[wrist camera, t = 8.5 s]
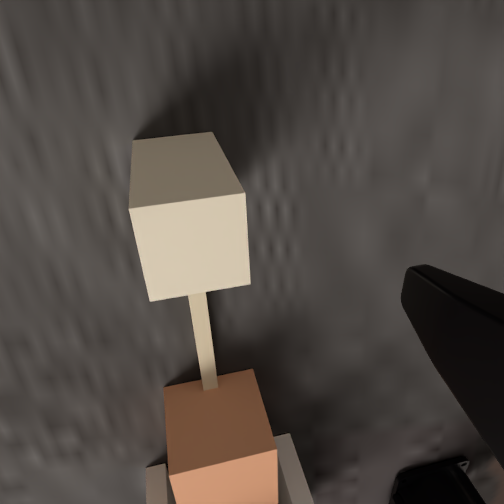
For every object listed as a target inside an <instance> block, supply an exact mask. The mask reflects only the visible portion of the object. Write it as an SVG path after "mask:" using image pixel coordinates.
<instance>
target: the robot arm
mask: <svg viewBox="0 0 504 504" xmlns="http://www.w3.org/2000/svg"><path fill="white" fill-rule="evenodd" d="M401 303H402V306H403V308H404V310H405V312H406V314H407V316H408V318H409V320H410V322H411V324H412V325H413V327H414V329H415V331H416V333H417V335H418V337H419V339H420V341H421V343H422V344H423V346H424V348H425V350H426V352H427V354H428V356H429V357H430V359H431V361H432V363H433V364H434V366H435V368H436V369H437V371H438V372H439V374H440V375H441V377H442V378H443V380H444V381H445V383H446V384H447V386H448V387H449V389H450V390H451V392H452V393H453V395H454V396H455V398H456V399H457V401H458V402H459V404H460V405H461V407H462V408H463V410H464V411H465V413H466V414H467V416H468V417H469V419H470V420H471V422H472V423H473V425H474V426H475V428H476V429H477V431H478V432H479V434H480V435H481V437H482V438H483V440H484V441H485V443H486V444H487V446H488V447H489V449H490V450H491V452H492V453H493V455H494V456H495V458H496V459H497V461H498V462H499V464H500V465H501V467H502V468H503V469H504V294H503V293H500V292H498V291H495V290H493V289H490V288H487V287H485V286H482V285H480V284H477V283H474V282H472V281H469V280H467V279H464V278H461V277H459V276H456V275H453V274H451V273H448V272H446V271H443V270H440V269H438V268H435V267H433V266H430V265H426V264H423V265H418V266H412V267H409V268H408V269H407V271H406V273H405V278H404V283H403V288H402V293H401ZM468 465H469V460H468V459H467V458H466V457H465V456H463V457H459V458H456V459H452V460H448V461H445V462H441V463H437V464H434V465H430V466H426V467H423V468H419V469H415V470H412V471H408V472H404V473H401V474H399V475H398V476H397V477H396V479H395V483H394V487H393V491H392V495H391V499H390V502H389V504H486V503H485V501H484V500H483V498H482V497H481V495H480V494H479V492H478V491H477V489H476V488H475V487H474V485H473V484H472V482H471V481H470V479H469V478H468V476H467V475H466V473H465V472H466V470H467V468H468Z"/></svg>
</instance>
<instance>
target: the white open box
mask: <svg viewBox="0 0 504 504" xmlns="http://www.w3.org/2000/svg"><path fill="white" fill-rule="evenodd" d="M274 440H275V444H276V447H277V466H278V504H314V502H313V499H312V496H311V493H310V490H309V488H308V485H307V482H306V479H305V476H304V473H303V470H302V467H301V464H300V461H299V458H298V456H297V453H296V450H295V447H294V444H293V441H292V438H291V435H290V433H287V434H283V435H279V436H275V437H274ZM146 504H176V500H175V496H174V493H173V489H172V486H171V482H170V479H169V475H168V471H167V468H166V464H165V463H164V464H160V465H156V466H152V467H148V468H146Z"/></svg>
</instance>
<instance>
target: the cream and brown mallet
mask: <svg viewBox="0 0 504 504" xmlns="http://www.w3.org/2000/svg"><path fill="white" fill-rule="evenodd" d="M129 212H130V217H131V221H132V225H133V230H134V234H135V238H136V243H137V247H138V252H139V256H140V260H141V265H142V269H143V273H144V278H145V282H146V287H147V291H148V295H149V300H150V302H151V301H157V300H163V299H168V298H174V297H180V296H185V295H188V298H189V304H190V310H191V316H192V322H193V328H194V334H195V341H196V347H197V353H198V359H199V365H200V371H201V377H202V379H201V380H196V381H191V382H187V383H182V384H177V385H172V386H168V387H164V403H165V420H166V437H167V454H168V471H169V479H170V482H171V486H172V489H173V493H174V496H175V500H176V504H278V466H277V447H276V444H275V440H274V437H273V434H272V430H271V427H270V424H269V421H268V417H267V414H266V411H265V407H264V404H263V401H262V397H261V394H260V391H259V388H258V384H257V381H256V378H255V374H254V371H253V369H248V370H244V371H239V372H234V373H229V374H225V375H220V376H217V374H216V366H215V359H214V351H213V344H212V336H211V329H210V321H209V314H208V306H207V298H206V292H208V291H214V290H220V289H225V288H231V287H237V286H243V285H248V284H250V267H249V250H248V232H247V215H246V198H245V192H244V190H243V188H242V186H241V184H240V182H239V180H238V179H237V177H236V175H235V173H234V171H233V169H232V167H231V166H230V164H229V162H228V160H227V158H226V156H225V154H224V153H223V151H222V149H221V147H220V145H219V143H218V141H217V140H216V138H215V136H214V134H213V132H205V133H196V134H186V135H177V136H168V137H159V138H150V139H141V140H133V143H132V160H131V178H130V195H129Z"/></svg>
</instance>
